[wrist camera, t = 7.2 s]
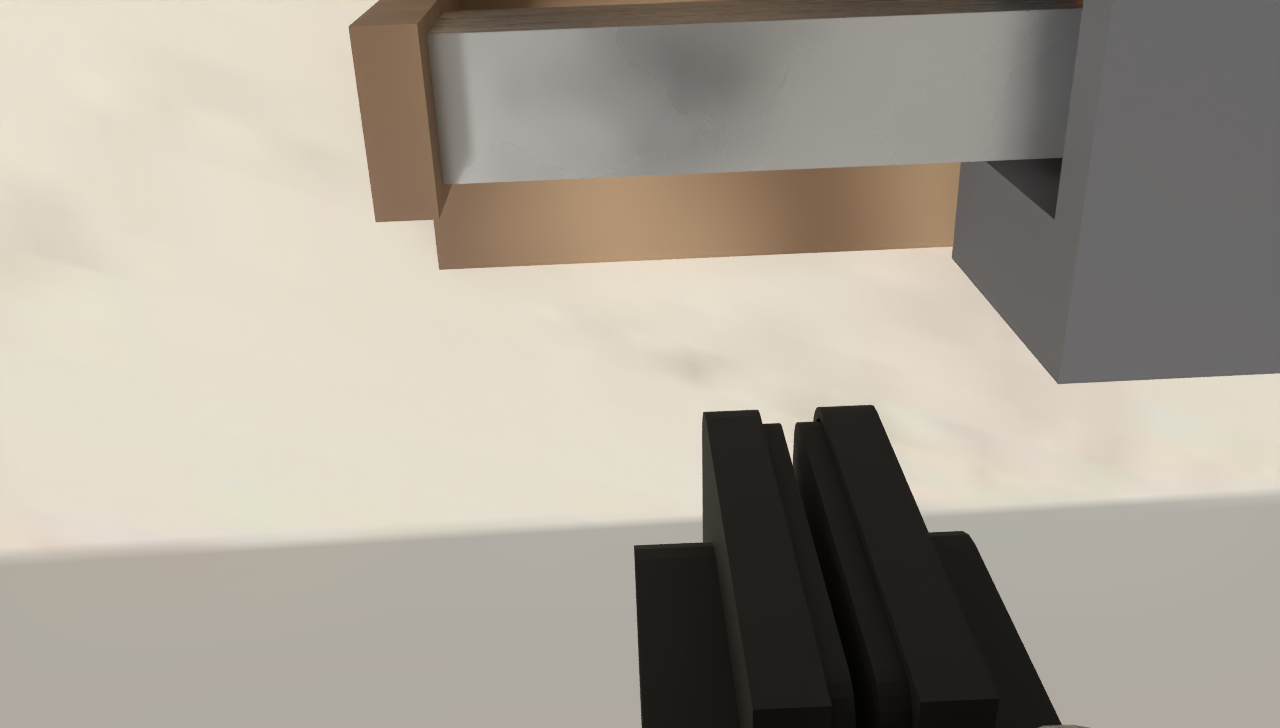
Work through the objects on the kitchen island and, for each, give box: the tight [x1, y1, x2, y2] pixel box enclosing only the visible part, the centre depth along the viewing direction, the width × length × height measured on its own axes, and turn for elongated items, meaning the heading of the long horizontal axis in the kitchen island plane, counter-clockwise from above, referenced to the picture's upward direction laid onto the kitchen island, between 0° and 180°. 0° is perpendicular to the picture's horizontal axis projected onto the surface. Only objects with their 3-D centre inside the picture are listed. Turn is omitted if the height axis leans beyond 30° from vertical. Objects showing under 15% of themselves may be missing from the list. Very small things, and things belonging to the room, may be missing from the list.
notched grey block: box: [952, 0, 1280, 384], centre depth 19 cm, size 4×9×6 cm, turn 2°
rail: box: [427, 0, 1084, 185], centre depth 19 cm, size 17×3×3 cm, turn 92°
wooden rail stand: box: [349, 0, 961, 270], centre depth 20 cm, size 18×9×7 cm, turn 92°
